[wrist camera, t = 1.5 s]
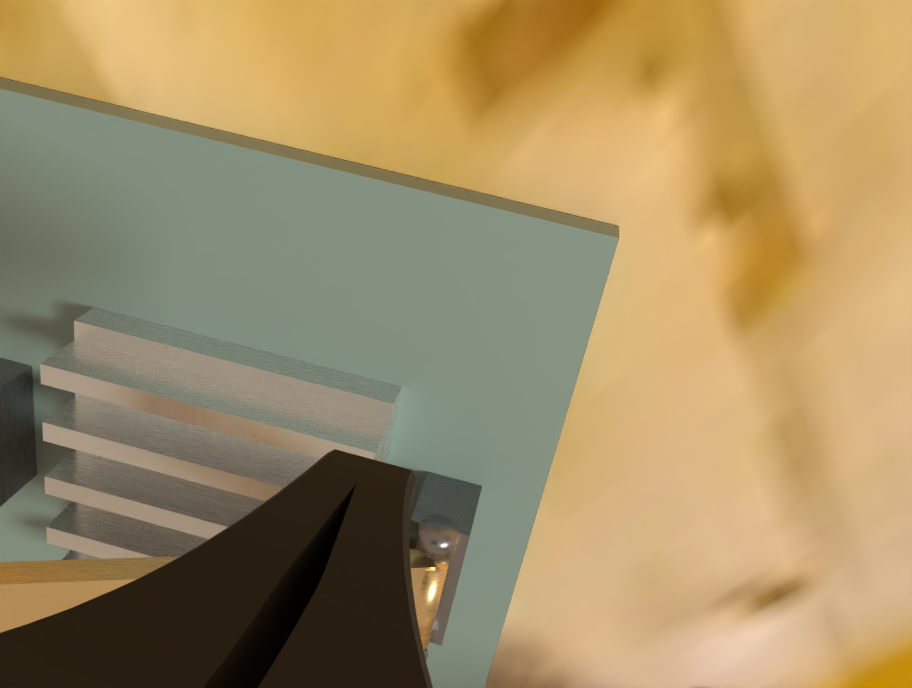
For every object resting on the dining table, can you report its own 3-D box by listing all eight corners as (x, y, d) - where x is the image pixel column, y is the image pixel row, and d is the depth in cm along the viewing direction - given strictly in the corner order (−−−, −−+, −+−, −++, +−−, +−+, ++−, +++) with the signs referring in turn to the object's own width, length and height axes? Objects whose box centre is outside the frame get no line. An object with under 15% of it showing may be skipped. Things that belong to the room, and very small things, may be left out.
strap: (424, 627, 23) (432, 653, 22) (-117, 662, 19) (-132, 695, 18) (444, 545, 21) (453, 569, 21) (-134, 563, 17) (-150, 594, 17)
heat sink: (440, 648, 26) (418, 737, 23) (6, 525, 27) (-71, 596, 24) (501, 412, 22) (483, 483, 19) (-11, 279, 23) (-105, 326, 20)
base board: (463, 748, 29) (458, 773, 28) (-1, 614, 31) (-20, 633, 30) (618, 226, 20) (618, 237, 20) (-43, 67, 22) (-71, 71, 21)
